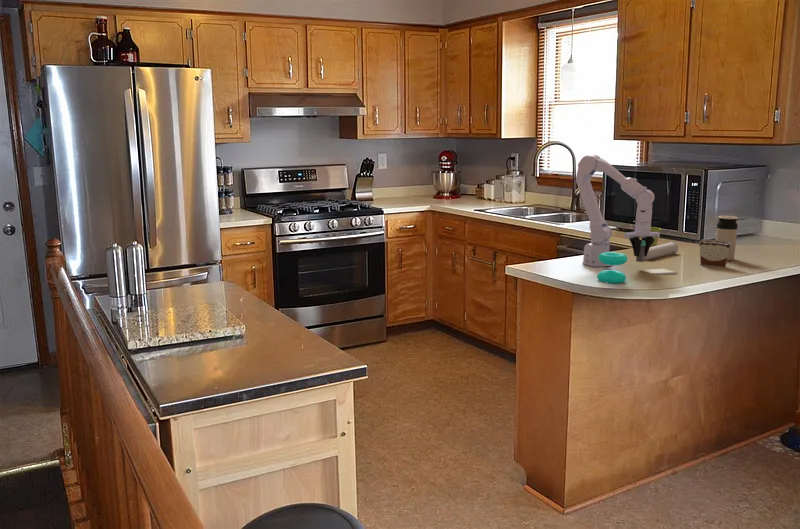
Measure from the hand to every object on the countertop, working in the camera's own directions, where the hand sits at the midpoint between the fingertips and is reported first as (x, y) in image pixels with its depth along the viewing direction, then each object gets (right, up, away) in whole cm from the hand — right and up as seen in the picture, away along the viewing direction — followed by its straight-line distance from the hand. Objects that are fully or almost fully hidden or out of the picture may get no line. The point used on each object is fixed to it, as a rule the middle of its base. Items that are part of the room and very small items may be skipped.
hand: (640, 256), depth 279 cm
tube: (+18, 0, +29) cm, 34 cm away
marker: (0, -2, 0) cm, 2 cm away
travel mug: (+44, -1, +25) cm, 51 cm away
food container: (+34, -4, +11) cm, 36 cm away
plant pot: (+22, +5, +54) cm, 59 cm away
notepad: (+6, -6, -5) cm, 10 cm away
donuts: (-18, -10, -21) cm, 29 cm away
